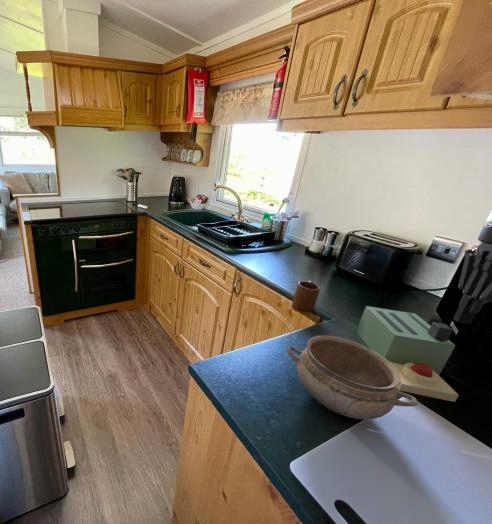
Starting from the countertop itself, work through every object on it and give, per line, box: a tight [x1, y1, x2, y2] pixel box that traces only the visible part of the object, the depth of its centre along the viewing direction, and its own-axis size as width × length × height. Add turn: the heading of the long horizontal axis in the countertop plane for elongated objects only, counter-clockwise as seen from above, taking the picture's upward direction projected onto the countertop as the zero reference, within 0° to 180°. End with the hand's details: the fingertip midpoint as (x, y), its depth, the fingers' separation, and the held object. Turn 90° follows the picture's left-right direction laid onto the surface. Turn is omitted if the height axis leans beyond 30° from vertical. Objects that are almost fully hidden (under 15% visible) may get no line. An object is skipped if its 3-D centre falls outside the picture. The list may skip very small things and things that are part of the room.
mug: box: [291, 280, 321, 312], centre depth 112 cm, size 12×8×9 cm, turn 145°
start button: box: [412, 362, 433, 377], centre depth 74 cm, size 4×4×2 cm
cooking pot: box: [286, 335, 419, 420], centre depth 66 cm, size 25×19×12 cm
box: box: [390, 362, 460, 403], centre depth 75 cm, size 12×9×4 cm
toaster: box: [355, 305, 456, 376], centre depth 87 cm, size 14×17×10 cm
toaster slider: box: [428, 321, 454, 341], centre depth 79 cm, size 3×3×4 cm
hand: (461, 321), depth 70 cm, fingers closed
